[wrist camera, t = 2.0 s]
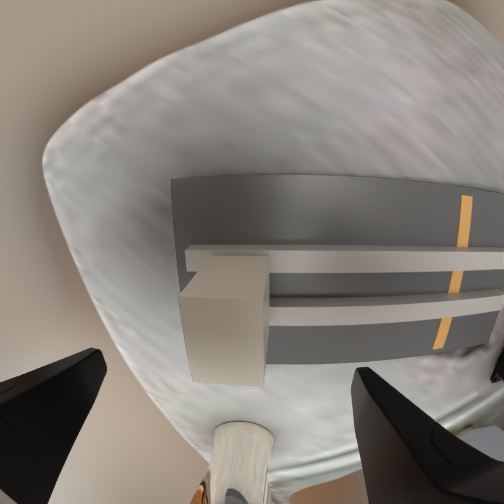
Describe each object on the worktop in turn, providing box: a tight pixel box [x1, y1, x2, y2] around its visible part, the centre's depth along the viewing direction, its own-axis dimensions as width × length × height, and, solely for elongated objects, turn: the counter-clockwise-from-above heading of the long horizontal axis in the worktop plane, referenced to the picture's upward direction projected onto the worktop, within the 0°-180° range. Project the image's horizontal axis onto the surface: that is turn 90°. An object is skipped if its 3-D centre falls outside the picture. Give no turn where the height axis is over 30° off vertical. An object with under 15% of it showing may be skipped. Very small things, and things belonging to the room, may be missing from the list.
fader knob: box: [178, 256, 269, 387], centre depth 13 cm, size 3×4×6 cm
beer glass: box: [190, 422, 274, 504], centre depth 16 cm, size 7×7×15 cm
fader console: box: [171, 175, 504, 364], centre depth 16 cm, size 24×12×3 cm, turn 91°
